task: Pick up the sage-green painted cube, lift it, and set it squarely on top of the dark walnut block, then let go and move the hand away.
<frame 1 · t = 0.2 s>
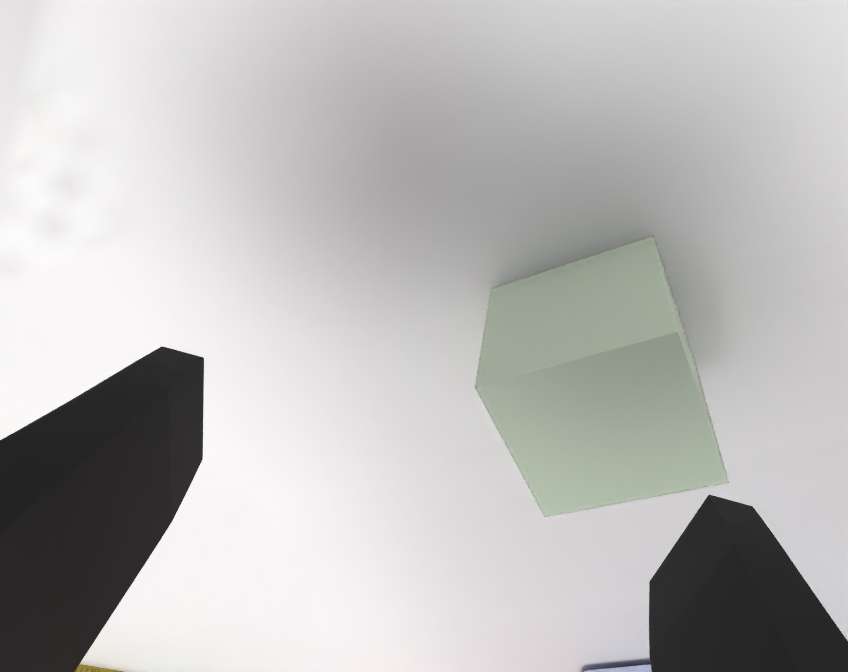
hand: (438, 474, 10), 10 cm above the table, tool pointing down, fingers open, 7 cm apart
sage cube: (594, 327, 19), on the table
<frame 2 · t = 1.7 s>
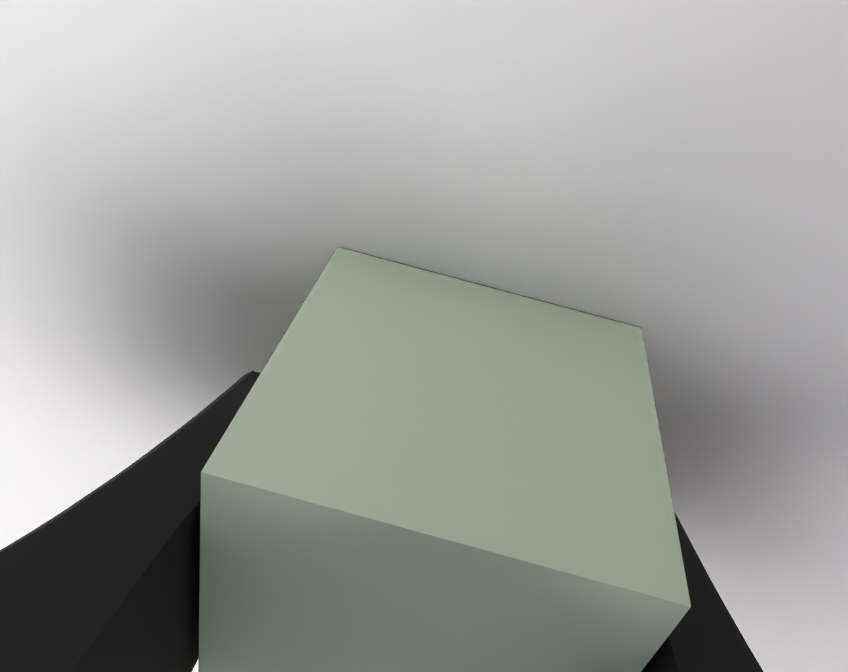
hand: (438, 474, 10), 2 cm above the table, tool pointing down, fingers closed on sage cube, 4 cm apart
sage cube: (453, 402, 11), on the table, touching gripper
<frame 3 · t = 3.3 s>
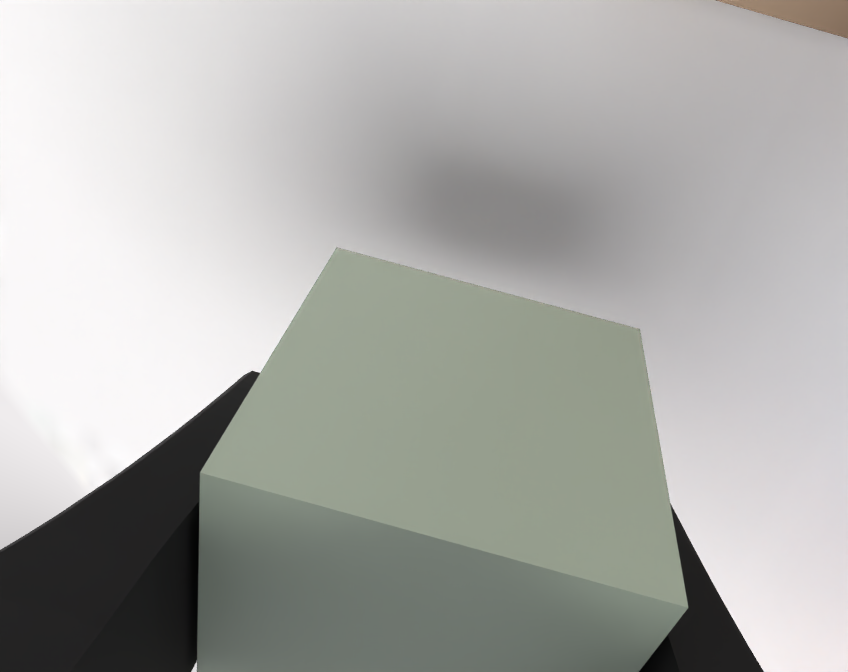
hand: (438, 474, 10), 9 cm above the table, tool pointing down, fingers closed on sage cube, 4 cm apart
sage cube: (451, 402, 11), point 7 cm above the table, touching gripper
when the fingers open (6 cm above the table, at t = 5.0 s): sage cube drops 1 cm, resting on walnut block.
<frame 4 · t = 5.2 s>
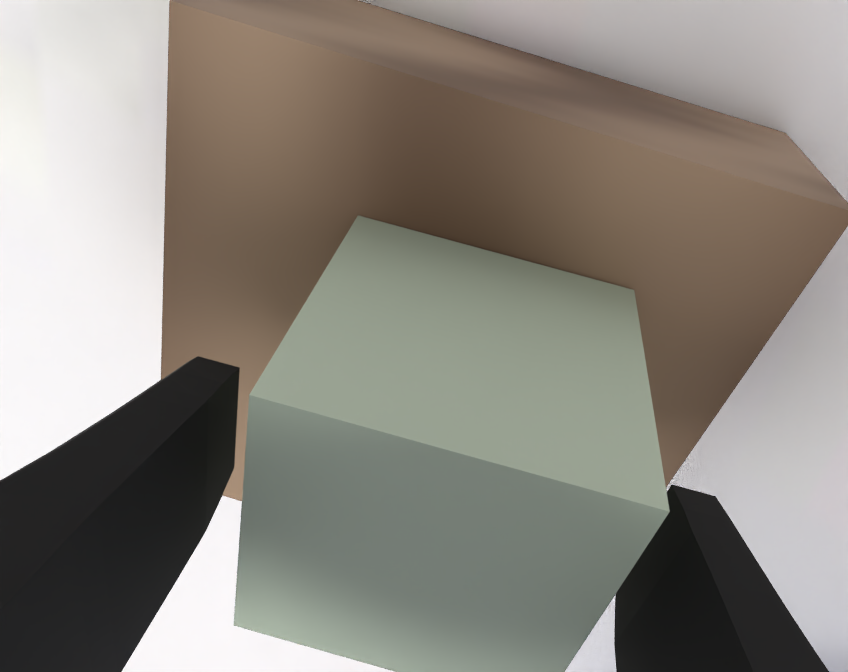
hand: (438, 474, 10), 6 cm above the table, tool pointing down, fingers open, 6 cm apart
walnut block: (454, 270, 16), on the table, touching sage cube
sage cube: (461, 361, 12), point 4 cm above the table, touching walnut block
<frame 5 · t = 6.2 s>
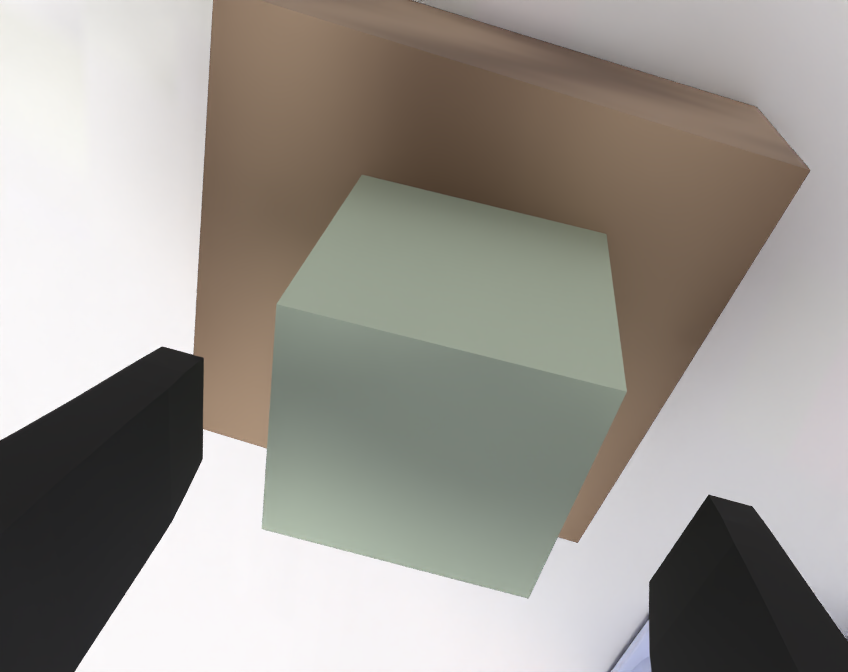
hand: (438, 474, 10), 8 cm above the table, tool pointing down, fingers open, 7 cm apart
walnut block: (458, 238, 17), on the table
sage cube: (457, 307, 13), point 4 cm above the table
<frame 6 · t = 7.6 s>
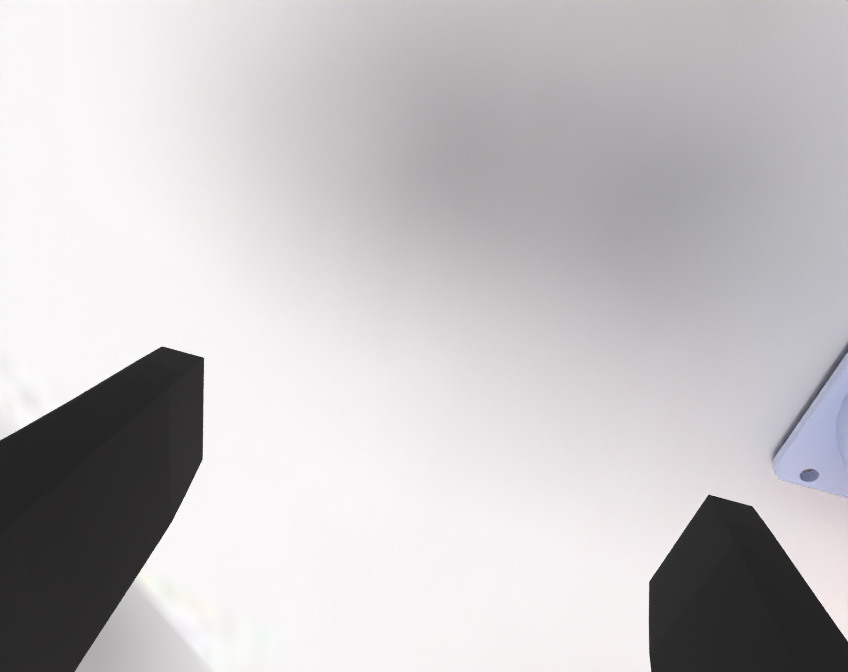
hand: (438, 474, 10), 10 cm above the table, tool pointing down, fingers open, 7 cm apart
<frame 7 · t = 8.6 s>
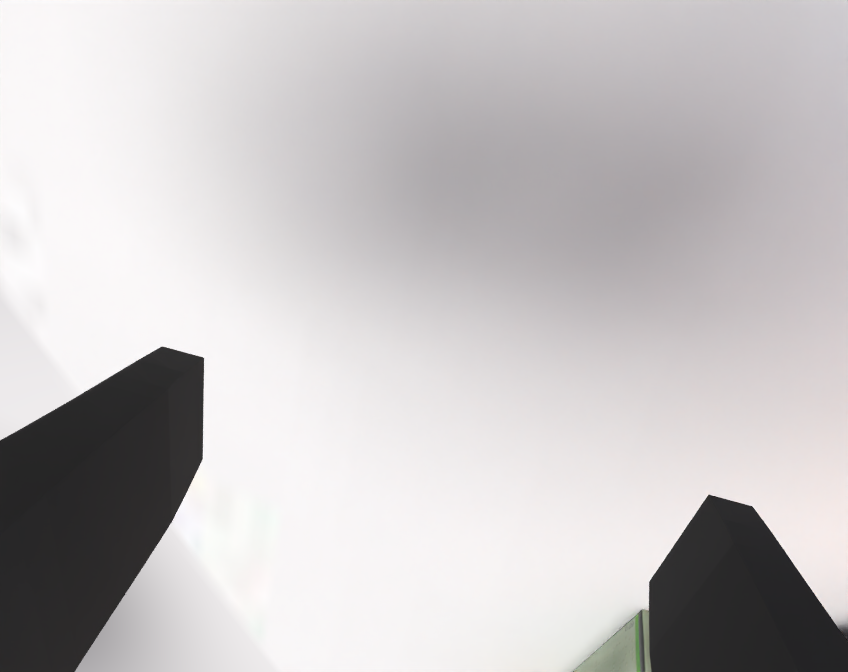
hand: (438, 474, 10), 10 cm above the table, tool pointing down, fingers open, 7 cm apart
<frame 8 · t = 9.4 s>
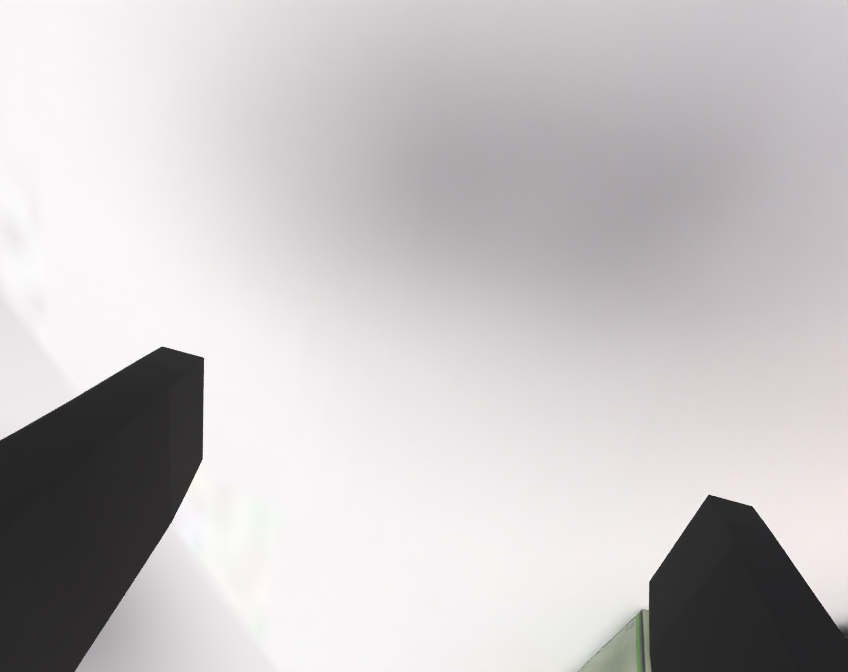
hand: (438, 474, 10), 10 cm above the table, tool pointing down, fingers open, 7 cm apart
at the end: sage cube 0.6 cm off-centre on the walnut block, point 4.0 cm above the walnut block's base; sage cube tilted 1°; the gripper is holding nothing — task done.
